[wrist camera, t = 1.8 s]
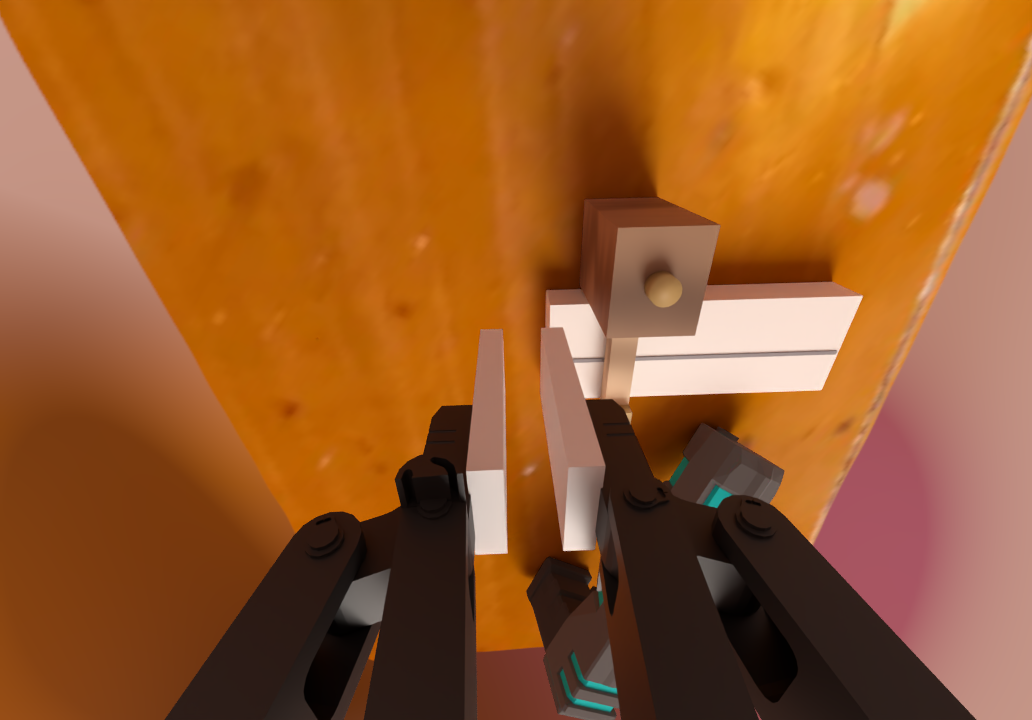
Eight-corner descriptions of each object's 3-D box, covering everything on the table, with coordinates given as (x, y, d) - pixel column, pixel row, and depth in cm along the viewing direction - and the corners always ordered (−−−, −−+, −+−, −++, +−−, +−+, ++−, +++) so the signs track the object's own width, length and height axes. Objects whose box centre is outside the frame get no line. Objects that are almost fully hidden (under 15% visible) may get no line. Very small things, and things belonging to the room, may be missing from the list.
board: (546, 290, 30) (550, 305, 28) (832, 281, 31) (864, 296, 28) (544, 378, 34) (548, 400, 32) (797, 370, 35) (822, 390, 32)
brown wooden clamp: (584, 198, 27) (623, 232, 18) (657, 197, 27) (730, 229, 19) (572, 387, 35) (596, 473, 26) (629, 385, 35) (672, 470, 26)
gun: (519, 595, 48) (555, 739, 34) (648, 385, 44) (750, 447, 30) (563, 609, 50) (616, 751, 36) (691, 408, 46) (806, 477, 32)
